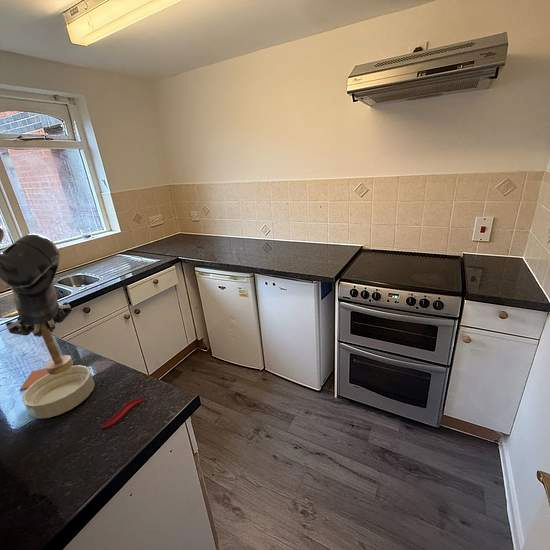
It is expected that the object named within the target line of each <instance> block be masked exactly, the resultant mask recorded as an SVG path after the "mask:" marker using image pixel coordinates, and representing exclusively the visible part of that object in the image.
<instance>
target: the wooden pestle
mask: <svg viewBox="0 0 550 550" xmlns="http://www.w3.org/2000/svg"><path fill="white" fill-rule="evenodd" d="M40 331H41V335H42V336H41V337H42V339H43V342H44V344H45V346H46V348H47V350H48V353H49V355H50V357H51V360H49V361H47V363H46V364H45V368H46V369H47V372H48V374H51V375H54V374H59V373H62V372H64V371H66V370H68V369H69V368H70V367H71V366H74V360H73V358H72V356H71V355H69V354H63V355H61V352H60V351H59V350H60V349H59V348H58V345H57V343H56V341H55V339H54V336H53V334H52V332H50V329H49V327H48V325H47V322H46V323H43V324H41V325H40Z"/></svg>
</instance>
